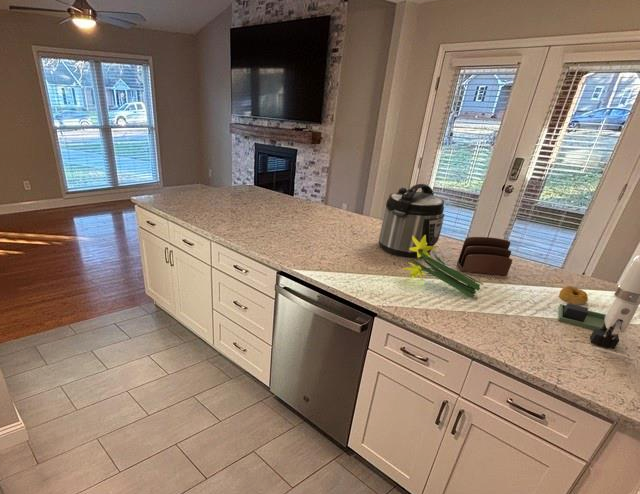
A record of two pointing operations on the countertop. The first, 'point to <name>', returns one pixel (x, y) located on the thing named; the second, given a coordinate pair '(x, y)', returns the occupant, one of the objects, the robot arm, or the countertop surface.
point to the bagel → (573, 295)
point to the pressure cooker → (411, 220)
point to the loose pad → (597, 335)
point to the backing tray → (590, 321)
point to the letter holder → (485, 256)
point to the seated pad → (575, 312)
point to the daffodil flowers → (422, 251)
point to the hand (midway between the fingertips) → (601, 343)
